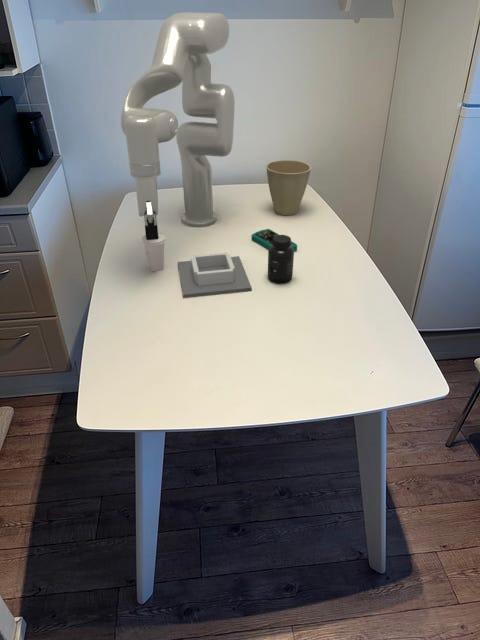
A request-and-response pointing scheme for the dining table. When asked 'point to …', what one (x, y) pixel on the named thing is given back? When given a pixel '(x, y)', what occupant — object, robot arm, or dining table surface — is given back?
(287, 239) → the supplement bottle
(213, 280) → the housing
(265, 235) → the digital multimeter
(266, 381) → the dining table surface
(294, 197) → the plant pot
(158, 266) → the smoothie
